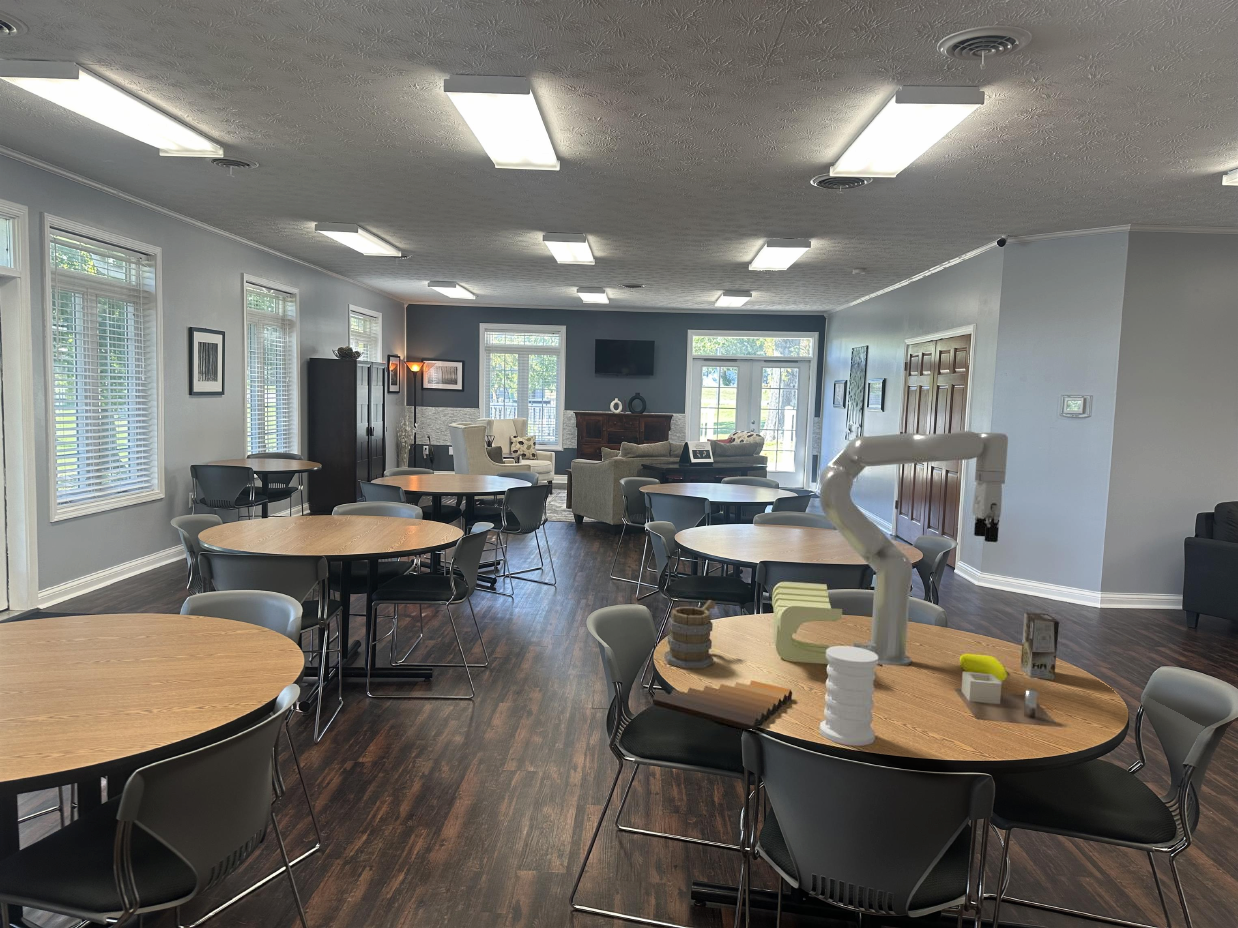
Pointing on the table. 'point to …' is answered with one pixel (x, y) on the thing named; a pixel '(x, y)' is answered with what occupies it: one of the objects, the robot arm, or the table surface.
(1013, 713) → the board
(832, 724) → the decorative container
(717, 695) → the pan flute
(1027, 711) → the post
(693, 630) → the tankard
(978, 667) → the spray bottle
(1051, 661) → the coffee box
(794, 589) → the slatted curved stool
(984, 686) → the collar
